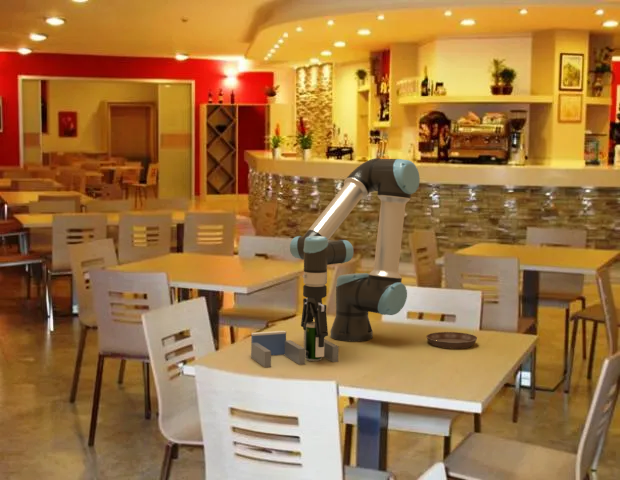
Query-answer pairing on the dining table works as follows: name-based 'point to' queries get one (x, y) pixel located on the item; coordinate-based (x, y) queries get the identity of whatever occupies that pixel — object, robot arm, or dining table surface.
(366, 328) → the robot arm
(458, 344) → the plant saucer
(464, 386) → the dining table surface
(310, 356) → the beer can
